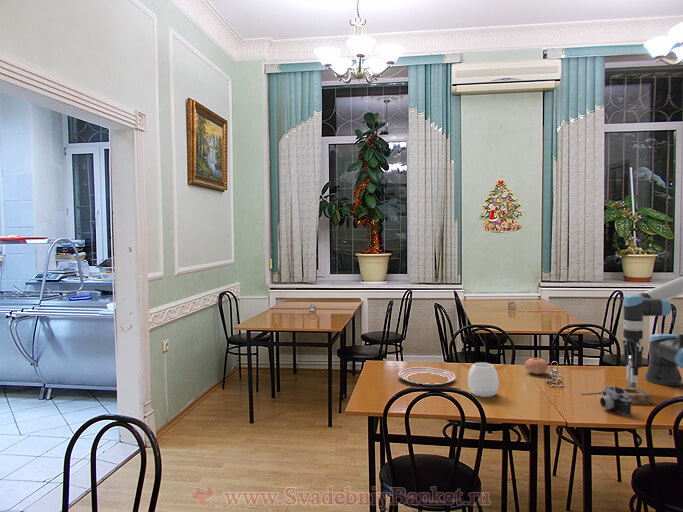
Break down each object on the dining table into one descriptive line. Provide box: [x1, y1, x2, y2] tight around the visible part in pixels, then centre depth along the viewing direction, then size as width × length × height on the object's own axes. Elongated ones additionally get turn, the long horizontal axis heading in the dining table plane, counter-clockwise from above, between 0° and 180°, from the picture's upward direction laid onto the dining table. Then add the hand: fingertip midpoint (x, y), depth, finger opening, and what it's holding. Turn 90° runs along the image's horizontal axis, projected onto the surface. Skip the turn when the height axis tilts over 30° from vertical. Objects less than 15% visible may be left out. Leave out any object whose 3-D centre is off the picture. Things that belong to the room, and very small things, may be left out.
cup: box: [467, 362, 500, 398], centre depth 221 cm, size 13×13×14 cm
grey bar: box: [627, 355, 637, 387], centre depth 224 cm, size 3×3×16 cm
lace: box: [580, 391, 603, 396], centre depth 221 cm, size 14×1×1 cm, turn 100°
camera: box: [599, 385, 632, 416], centre depth 201 cm, size 16×8×10 cm, turn 4°
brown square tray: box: [617, 386, 653, 405], centre depth 213 cm, size 11×11×4 cm
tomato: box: [524, 357, 549, 375], centre depth 254 cm, size 11×11×8 cm
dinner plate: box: [398, 366, 456, 386], centre depth 244 cm, size 28×27×3 cm
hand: (632, 380), depth 224 cm, fingers closed on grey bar, 3 cm apart
